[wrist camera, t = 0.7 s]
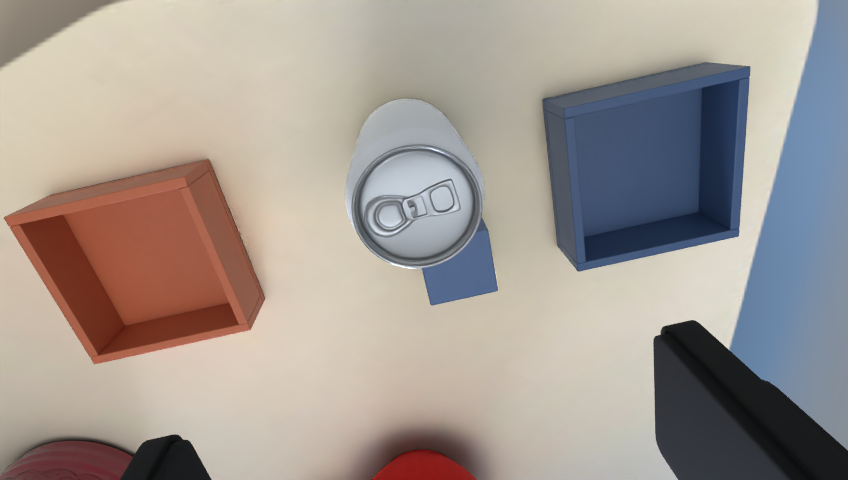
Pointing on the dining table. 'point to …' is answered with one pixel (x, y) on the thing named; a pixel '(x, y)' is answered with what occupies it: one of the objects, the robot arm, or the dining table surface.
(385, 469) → the ceramic cup
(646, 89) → the slate bin
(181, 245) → the terracotta bin
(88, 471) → the kitchen canister
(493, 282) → the block
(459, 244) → the can
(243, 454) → the dining table surface
